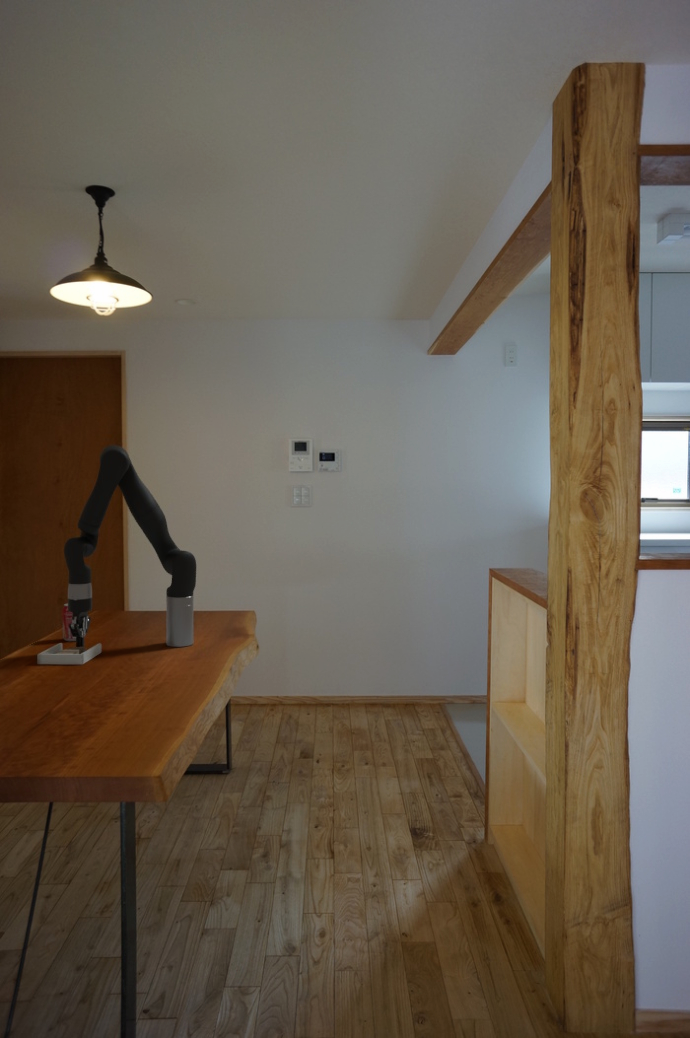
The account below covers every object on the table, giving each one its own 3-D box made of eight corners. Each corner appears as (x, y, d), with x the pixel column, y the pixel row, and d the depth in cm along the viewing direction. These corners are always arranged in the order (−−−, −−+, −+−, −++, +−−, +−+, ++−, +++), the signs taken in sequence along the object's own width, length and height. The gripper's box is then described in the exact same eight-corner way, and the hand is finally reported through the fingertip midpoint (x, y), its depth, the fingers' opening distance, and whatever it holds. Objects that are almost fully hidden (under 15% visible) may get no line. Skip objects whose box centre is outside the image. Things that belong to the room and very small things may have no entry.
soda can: (87, 639, 242) (87, 604, 242) (68, 642, 237) (67, 606, 237) (78, 636, 247) (78, 601, 247) (59, 639, 242) (59, 604, 242)
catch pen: (59, 652, 223) (59, 643, 223) (101, 652, 223) (101, 643, 223) (37, 664, 207) (37, 654, 207) (82, 664, 207) (82, 654, 207)
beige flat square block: (71, 654, 222) (71, 646, 222) (86, 654, 222) (86, 647, 222) (64, 658, 217) (64, 650, 217) (80, 658, 217) (80, 650, 217)
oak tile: (63, 657, 217) (63, 649, 217) (79, 657, 217) (79, 649, 217) (56, 661, 212) (56, 653, 212) (72, 661, 212) (72, 653, 212)
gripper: (77, 593, 230) (77, 643, 230) (60, 599, 216) (60, 652, 217) (98, 593, 229) (98, 644, 230) (83, 599, 216) (83, 653, 217)
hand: (80, 648), depth 223 cm, fingers closed
